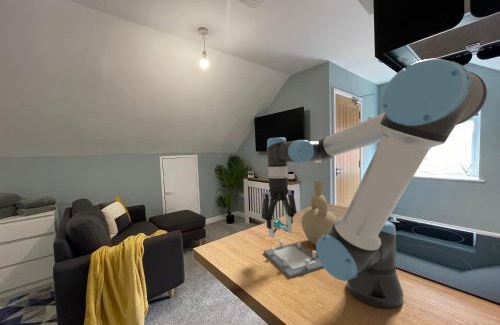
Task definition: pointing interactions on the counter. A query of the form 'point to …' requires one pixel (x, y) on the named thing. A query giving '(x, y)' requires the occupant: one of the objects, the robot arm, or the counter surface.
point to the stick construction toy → (277, 227)
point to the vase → (317, 216)
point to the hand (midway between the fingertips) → (280, 234)
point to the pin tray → (293, 259)
